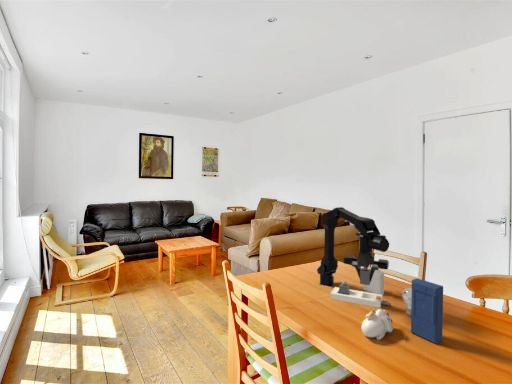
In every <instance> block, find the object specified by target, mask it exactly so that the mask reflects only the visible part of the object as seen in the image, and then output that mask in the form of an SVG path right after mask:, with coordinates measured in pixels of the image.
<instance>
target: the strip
mask: <svg viewBox="0 0 512 384" xmlns="http://www.w3.org/2000/svg"><path fill="white" fill-rule="evenodd" d="M330 300H335V301H339V302H340V301H341V302H346V303H352V304H355V305H357V304H358V305H362V306H367V307H371V308H378V309H382V305H383V306H390V307H392V302H386V301H383V295H380V294H375V293H372V292H369V291H362V290H357V289H350V291H349V295H345V294H339V286H338V287H337V286H335V287H333V289H332V291H331V292H330Z"/></svg>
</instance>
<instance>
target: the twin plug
mask: <svg viewBox="0 0 512 384" xmlns="http://www.w3.org/2000/svg"><path fill="white" fill-rule="evenodd" d="M338 287H339V294H345V295H349V291H350V287H351V286H350V284H349V283H347V281H344V280H343V281H342V282H340V284H339V285H338Z"/></svg>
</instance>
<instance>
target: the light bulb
mask: <svg viewBox="0 0 512 384" xmlns="http://www.w3.org/2000/svg"><path fill="white" fill-rule="evenodd" d="M411 288H412V286H411V287H407V288H405V289H403V291H402V293H401V294H402V295H401V297H402V300H403V301H404V304H405V308H406V314H407V315H409V316H410V317H411V298H412V289H411Z"/></svg>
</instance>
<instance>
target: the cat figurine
mask: <svg viewBox="0 0 512 384" xmlns="http://www.w3.org/2000/svg"><path fill="white" fill-rule="evenodd" d="M361 331H362V333H363V334H364V335H365V337H367V338H376V340H377V341H380V340H382V339H383V338H384V337H385V335H386V333H392V332H393V320H392V318H391V316H390V314H389V313H388V312H387V310H386V309H382V308H378V309H377V310H373V309H371V310H370V311H369V312H368V313H367V314H365V319H364V320H363V321H362V322H361Z"/></svg>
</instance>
